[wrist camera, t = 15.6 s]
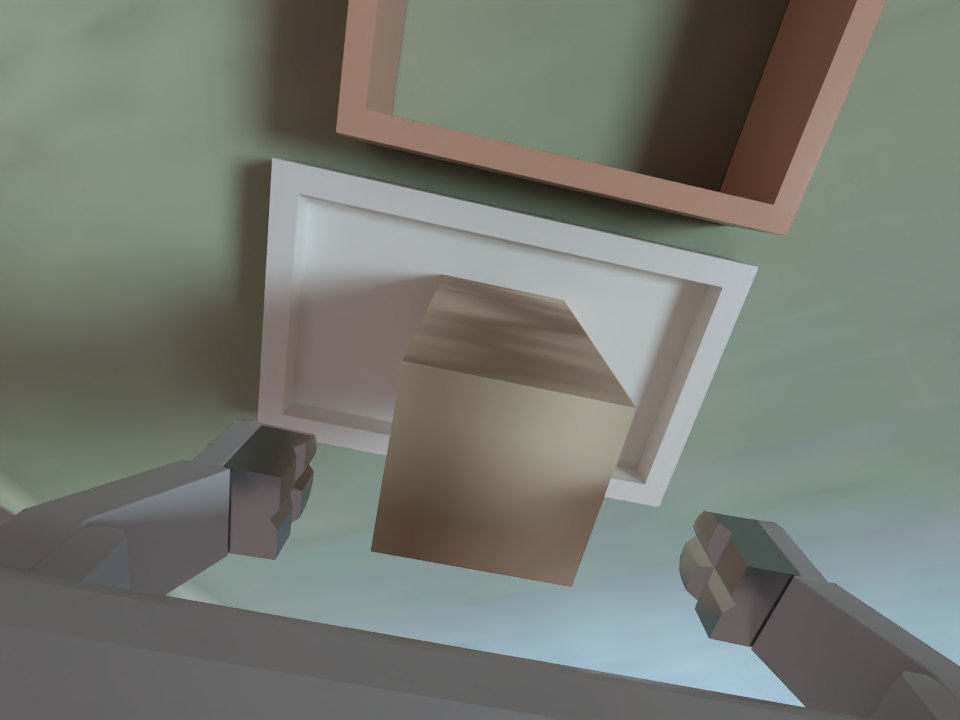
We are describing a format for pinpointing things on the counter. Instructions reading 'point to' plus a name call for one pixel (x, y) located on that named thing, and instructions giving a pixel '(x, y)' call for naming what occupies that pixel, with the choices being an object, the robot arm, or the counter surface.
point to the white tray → (488, 259)
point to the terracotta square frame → (740, 203)
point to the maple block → (500, 436)
